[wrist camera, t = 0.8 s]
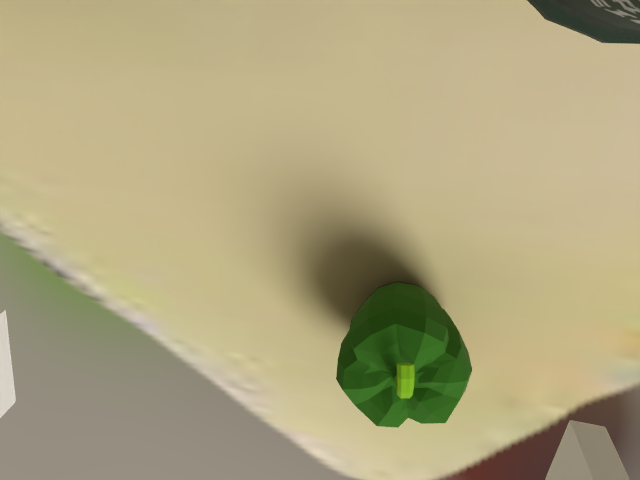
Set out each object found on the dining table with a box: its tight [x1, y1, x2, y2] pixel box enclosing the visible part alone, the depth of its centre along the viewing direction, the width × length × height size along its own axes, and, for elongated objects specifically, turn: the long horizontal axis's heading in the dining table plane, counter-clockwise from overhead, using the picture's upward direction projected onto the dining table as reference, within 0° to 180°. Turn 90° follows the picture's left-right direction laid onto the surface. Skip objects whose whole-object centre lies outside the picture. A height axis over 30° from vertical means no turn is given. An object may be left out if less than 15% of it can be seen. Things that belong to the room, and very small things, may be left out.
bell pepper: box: [336, 282, 472, 427], centre depth 37 cm, size 8×8×10 cm
